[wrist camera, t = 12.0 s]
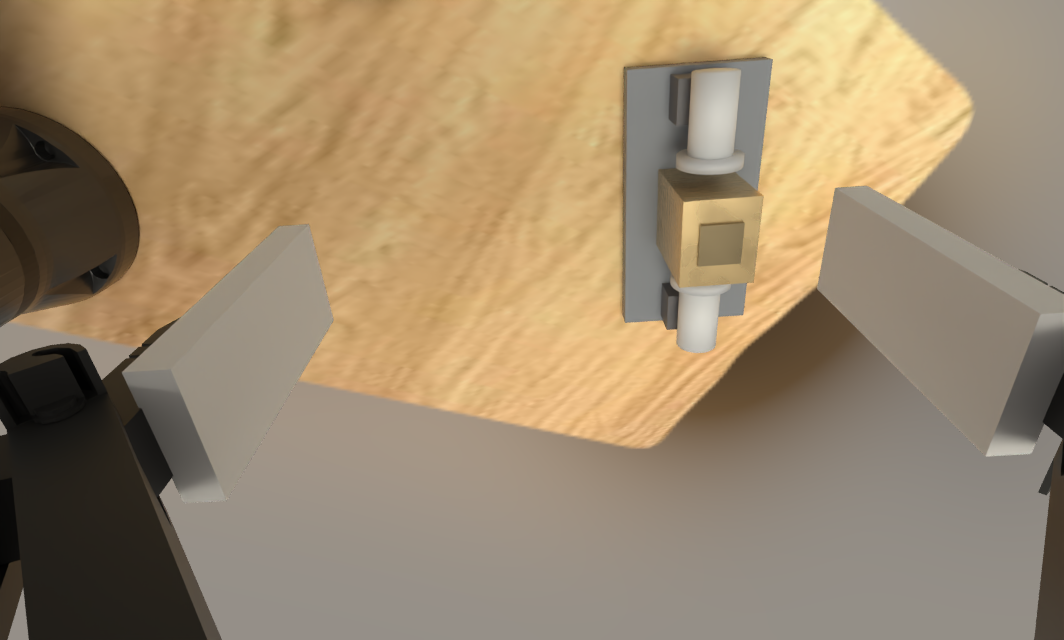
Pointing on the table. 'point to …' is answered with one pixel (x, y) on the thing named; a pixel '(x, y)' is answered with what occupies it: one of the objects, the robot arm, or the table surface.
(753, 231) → the coupler
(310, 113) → the table surface
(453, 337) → the table surface
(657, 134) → the grey rod holder
